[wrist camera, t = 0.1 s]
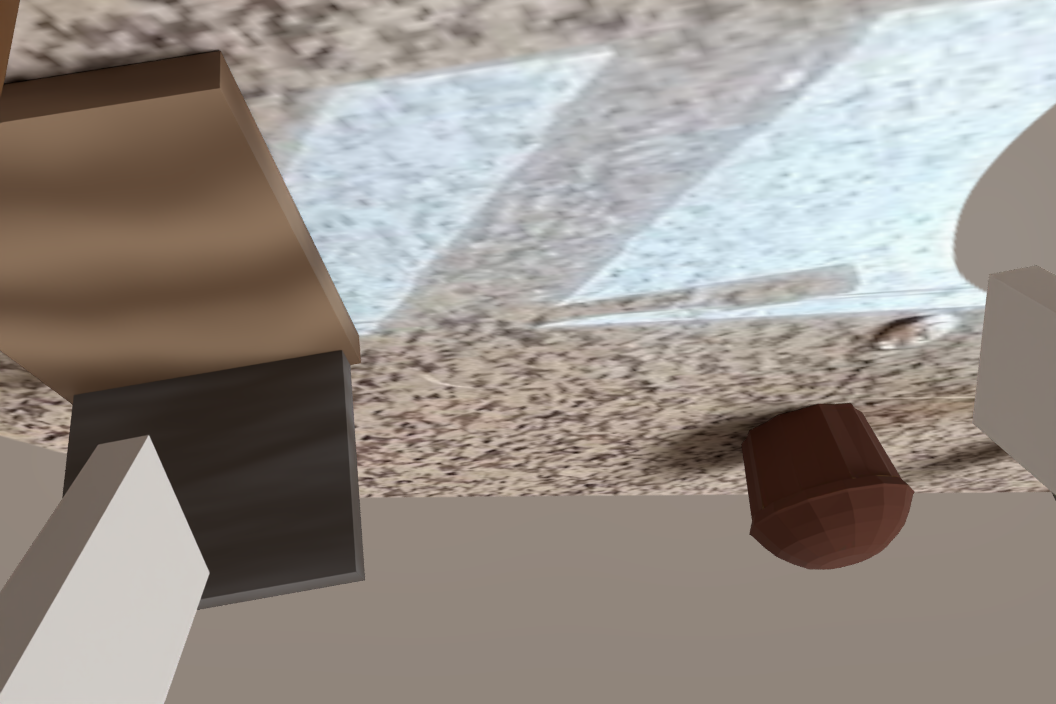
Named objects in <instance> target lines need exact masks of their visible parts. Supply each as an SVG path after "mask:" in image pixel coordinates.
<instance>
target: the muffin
mask: <svg viewBox="0 0 1056 704" xmlns="http://www.w3.org/2000/svg"><path fill="white" fill-rule="evenodd" d="M741 445H742V452H743V459H744V466H745V474H746V481H747V488H748V495H749V502H750V509H751V516H752V524H751V529H750V535H751V536H753V537H754V538H755V539H756V540H757V541H758V542H759V543H760V544H761V545H762V546H763V547H765V548H766V549H767V550H768V551H770V552H771V553H772V554H774V555H775V556H776V557H778V558H780V559H783V560H785V561H787V562H789V563H792V564H794V565H797V566H800V567H804V568H807V569H835V568H841V567H845V566H848V565H852V564H856V563H859V562H862V561H864V560H866V559H869V558H871V557H872V556H874V555H876V554H878V553H879V552H881V551H882V550H883V549H884V548H885V547H887V546H888V544H889V543H890V542H891V541H892V540H893V539H894V538H895V536H896V535H897V534H898V533H899V532H900V530H901V529H902V527H903V526H904V524H905V522H906V519H907V516H908V513H909V510H910V506H911V501H912V497H913V494H914V491H913V490H912V489H911V487H910V486H909V485H908V484H907V483H905V482H904V481H903V480H902V479H901V477H900V475H899V474H898V472H897V470H896V469H895V467H894V465H893V464H892V462H891V460H890V459H889V457H888V455H887V454H886V452H885V450H884V449H883V447H882V445H881V444H880V442H879V440H878V438H877V437H876V435H875V433H874V432H873V430H872V428H871V427H870V425H869V423H868V422H867V420H866V418H865V417H864V415H863V413H862V412H861V411H859V410H857V409H855V408H854V407H853V405H852V404H851V403H843V404H816V405H813V406H810V407H806V408H803V409H800V410H796V411H792V412H787V413H783V414H779V415H777V416H776V417H774V418H772V419H771V420H769V421H767V422H766V423H764V424H762V425H760V426H758V427H755V428H753V429H751V430H750V431H749V433H748V436H747V438H746V439H745V441H744V442H743V443H742V444H741Z"/></svg>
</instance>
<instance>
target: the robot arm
mask: <svg viewBox="0 0 1056 704" xmlns="http://www.w3.org/2000/svg"><path fill="white" fill-rule="evenodd" d="M972 423H973V424H974V425H975V426H976V427H978V428H979V429H980V430H981V431H982V432H983V433H985V434H986V435H987V436H988V437H989V438H990V439H991V440H993V441H994V442H995V443H996V444H997V445H998V446H1000V447H1001V448H1002V449H1003V450H1004V451H1005V452H1006V453H1008V454H1009V455H1010V456H1011V457H1012V458H1013V459H1015V460H1016V461H1017V462H1018V463H1019V464H1020V465H1021V466H1023V467H1024V468H1025V469H1026V470H1027V471H1028V472H1030V473H1031V474H1032V475H1033V476H1034V477H1035V478H1036V479H1038V480H1039V481H1040V482H1041V483H1042V484H1043V485H1045V486H1046V487H1047V488H1048V489H1049V490H1050V491H1051V492H1053V493H1054V494H1055V495H1056V275H1054V274H1052V273H1050V272H1048V271H1046V270H1045V269H1043V268H1041V267H1039V266H1037V265H1036V266H1030V267H1025V268H1020V269H1014V270H1009V271H1004V272H999V273H994V274H989V280H988V289H987V297H986V306H985V315H984V324H983V333H982V342H981V351H980V360H979V369H978V378H977V387H976V396H975V405H974V413H973V422H972ZM208 576H209V570H208V568H207V566H206V564H205V561H204V559H203V557H202V555H201V552H200V550H199V548H198V545H197V543H196V541H195V539H194V536H193V534H192V532H191V530H190V527H189V525H188V523H187V520H186V518H185V516H184V514H183V511H182V509H181V507H180V505H179V502H178V500H177V498H176V495H175V493H174V491H173V489H172V486H171V484H170V482H169V479H168V477H167V475H166V473H165V470H164V468H163V466H162V464H161V461H160V459H159V457H158V454H157V452H156V450H155V448H154V445H153V443H152V441H151V439H150V436H149V435H146V436H141V437H135V438H130V439H125V440H120V441H115V442H109V443H104V444H99V445H98V446H97V447H96V449H95V450H94V452H93V453H92V455H91V456H90V458H89V459H88V461H87V462H86V464H85V465H84V467H83V468H82V470H81V471H80V473H79V474H78V476H77V477H76V479H75V480H74V482H73V483H72V485H71V486H70V488H69V489H68V491H67V492H66V494H65V495H64V497H63V498H62V500H61V501H60V503H59V504H58V506H57V508H56V509H55V510H54V512H53V514H52V515H51V516H50V518H49V519H48V521H47V522H46V524H45V526H44V527H43V529H42V530H41V531H40V533H39V534H38V536H37V538H36V539H35V540H34V542H33V543H32V545H31V546H30V548H29V549H28V551H27V552H26V554H25V555H24V557H23V559H22V560H21V562H20V563H19V564H18V566H17V567H16V569H15V570H14V572H13V574H12V575H11V576H10V578H9V580H8V581H7V582H6V584H5V585H4V587H3V589H2V590H1V592H0V704H164V702H165V699H166V696H167V693H168V690H169V687H170V685H171V682H172V679H173V676H174V673H175V670H176V667H177V664H178V662H179V659H180V656H181V653H182V650H183V647H184V645H185V642H186V639H187V636H188V633H189V630H190V627H191V625H192V621H193V619H194V616H195V613H196V610H197V607H198V605H199V602H200V599H201V596H202V593H203V590H204V587H205V585H206V582H207V579H208Z"/></svg>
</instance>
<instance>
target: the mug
mask: <svg viewBox="0 0 1056 704" xmlns="http://www.w3.org/2000/svg"><path fill="white" fill-rule="evenodd" d="M19 2H20V0H0V97H1V93H2V88H3V84H4V80H5V75H6V70H7V64H8V59H9V54H10V49H11V44H12V39H13V33H14V28H15V23H16V18H17V13H18V8H19Z"/></svg>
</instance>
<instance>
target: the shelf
mask: <svg viewBox="0 0 1056 704" xmlns="http://www.w3.org/2000/svg"><path fill="white" fill-rule="evenodd" d="M0 351H2V352H3V353H4V354H6V355H7V356H8V357H10V358H11V359H12V360H14V361H15V362H16V363H18V364H19V365H20V366H22V367H23V368H24V369H26V370H27V371H28V372H30V373H31V374H32V375H34V376H35V377H36V378H38V379H39V380H40V381H42V382H43V383H44V384H46V385H47V386H48V387H50V388H51V389H53V390H54V391H55V392H57V393H58V394H59V395H61V396H62V397H63V398H65V399H66V400H67V401H69V402H70V403H71V404H73V406H72V416H71V425H70V434H69V443H68V452H67V461H66V470H65V479H64V488H63V497H64V495H65V494H66V492H67V491H68V489H69V488H70V486H71V485H72V483H73V482H74V480H75V479H76V477H77V476H78V474H79V473H80V471H81V470H82V468H83V467H84V465H85V464H86V462H87V461H88V459H89V458H90V456H91V455H92V453H93V452H94V450H95V449H96V447H97V446H98V445H99V444H104V443H109V442H115V441H120V440H125V439H130V438H135V437H141V436H146V435H149V436H150V439H151V441H152V443H153V445H154V448H155V450H156V452H157V454H158V457H159V459H160V461H161V464H162V466H163V468H164V470H165V473H166V475H167V477H168V479H169V482H170V484H171V486H172V489H173V491H174V493H175V495H176V498H177V500H178V502H179V505H180V507H181V509H182V511H183V514H184V516H185V518H186V520H187V523H188V525H189V527H190V530H191V532H192V534H193V536H194V539H195V541H196V543H197V545H198V548H199V550H200V552H201V555H202V557H203V559H204V561H205V564H206V566H207V568H208V570H209V576H208V579H207V582H206V585H205V587H204V590H203V593H202V596H201V599H200V602H199V605H198V607H197V610H200V609H205V608H210V607H216V606H222V605H228V604H233V603H238V602H244V601H250V600H256V599H262V598H267V597H273V596H278V595H284V594H290V593H295V592H301V591H307V590H312V589H318V588H324V587H329V586H334V585H340V584H346V583H352V582H357V581H363V580H365V573H364V558H363V545H362V529H361V517H360V500H359V485H358V471H357V456H356V442H355V427H354V412H353V398H352V383H351V369H350V365H353V364H359V363H361V358H360V345H359V335H358V333H357V331H356V329H355V327H354V324H353V322H352V320H351V318H350V316H349V314H348V312H347V310H346V308H345V306H344V304H343V302H342V300H341V298H340V296H339V294H338V292H337V290H336V287H335V285H334V283H333V281H332V279H331V277H330V275H329V273H328V271H327V269H326V267H325V265H324V263H323V261H322V259H321V257H320V255H319V252H318V250H317V248H316V246H315V244H314V242H313V240H312V238H311V236H310V234H309V232H308V230H307V228H306V226H305V224H304V222H303V220H302V217H301V215H300V213H299V211H298V209H297V207H296V205H295V203H294V201H293V199H292V197H291V195H290V193H289V191H288V189H287V187H286V185H285V182H284V180H283V178H282V176H281V174H280V172H279V170H278V168H277V166H276V164H275V162H274V160H273V158H272V156H271V154H270V152H269V150H268V147H267V145H266V143H265V141H264V139H263V137H262V135H261V133H260V131H259V129H258V127H257V125H256V123H255V121H254V119H253V117H252V115H251V112H250V110H249V108H248V106H247V104H246V102H245V100H244V98H243V96H242V94H241V92H240V90H239V88H238V86H237V84H236V82H235V80H234V78H233V75H232V73H231V71H230V69H229V67H228V65H227V63H226V61H225V59H224V57H223V55H222V53H221V51H217V52H210V53H204V54H197V55H191V56H185V57H178V58H172V59H165V60H159V61H153V62H146V63H140V64H133V65H127V66H120V67H114V68H108V69H101V70H95V71H88V72H82V73H76V74H69V75H63V76H56V77H50V78H43V79H37V80H31V81H24V82H18V83H11V84H5V85H3V88H2V93H1V97H0ZM63 497H62V498H63Z"/></svg>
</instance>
